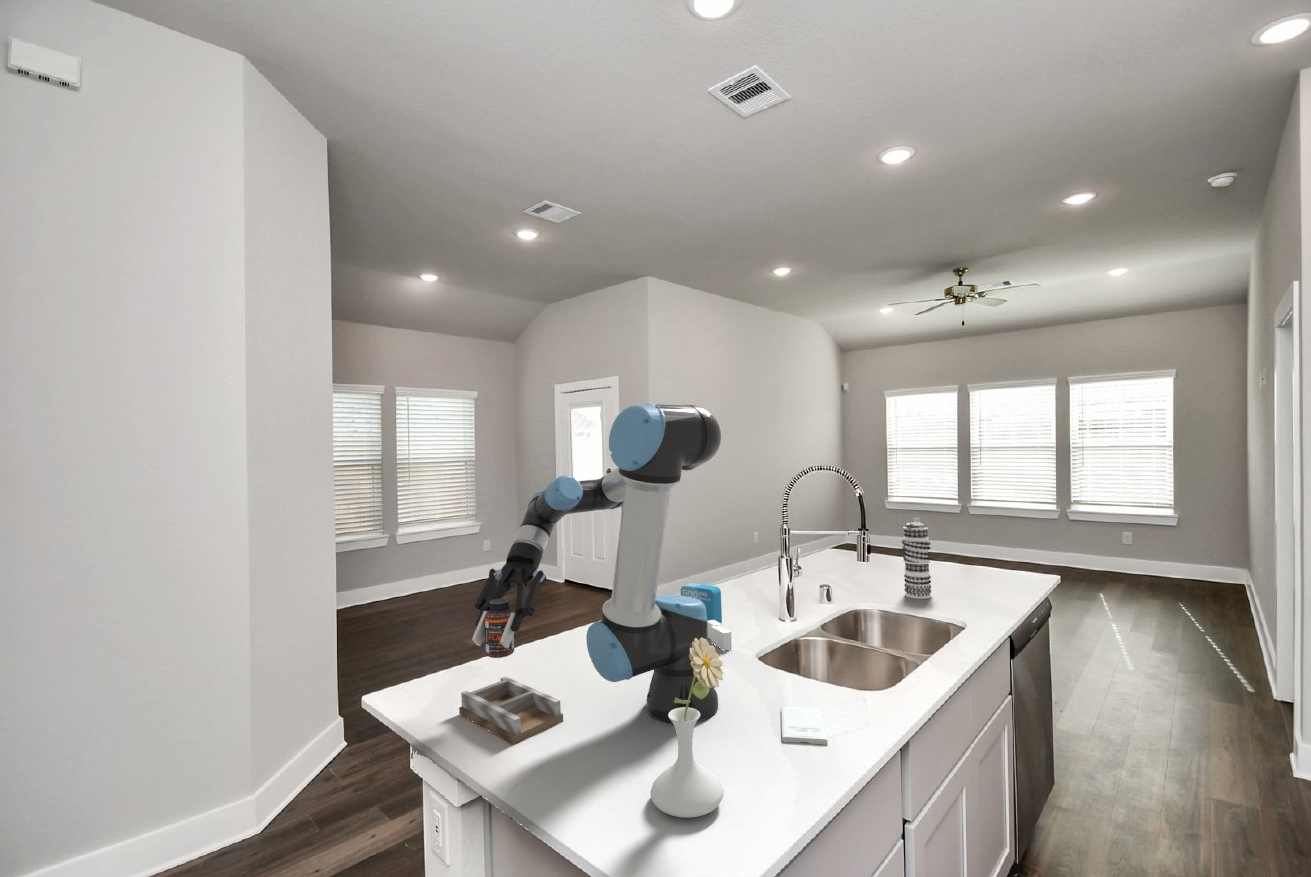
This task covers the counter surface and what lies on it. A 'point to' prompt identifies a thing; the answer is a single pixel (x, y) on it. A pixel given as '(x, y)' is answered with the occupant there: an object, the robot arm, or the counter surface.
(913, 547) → the decorative candle
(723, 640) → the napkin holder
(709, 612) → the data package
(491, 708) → the wooden divided tray
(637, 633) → the robot arm
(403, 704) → the counter surface
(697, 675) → the flower in vase
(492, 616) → the supplement bottle
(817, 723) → the external hard drive
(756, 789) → the counter surface
